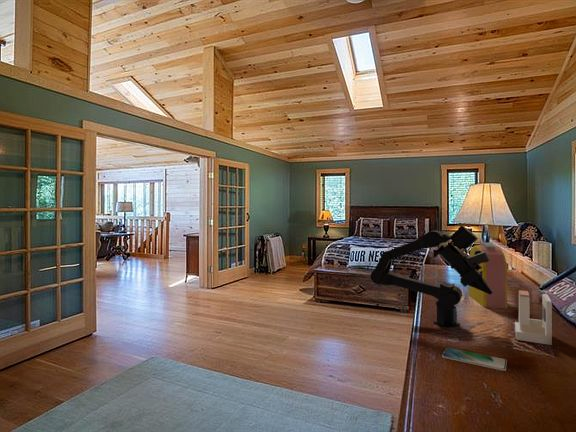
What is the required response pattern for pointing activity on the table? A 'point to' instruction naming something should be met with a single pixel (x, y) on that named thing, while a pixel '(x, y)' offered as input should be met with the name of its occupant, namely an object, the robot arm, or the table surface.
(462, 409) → the table surface
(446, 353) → the smartphone
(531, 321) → the cream l-shaped bracket
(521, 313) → the off-white rectangular block
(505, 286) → the yellow tall block
